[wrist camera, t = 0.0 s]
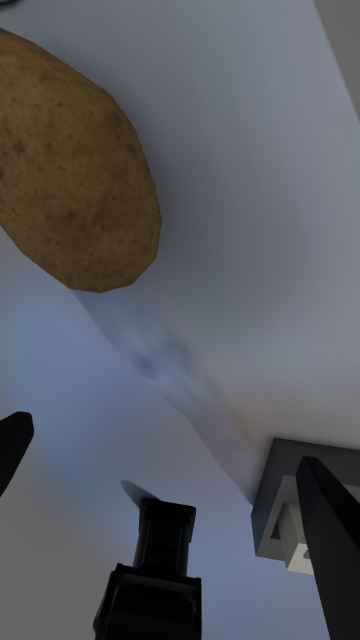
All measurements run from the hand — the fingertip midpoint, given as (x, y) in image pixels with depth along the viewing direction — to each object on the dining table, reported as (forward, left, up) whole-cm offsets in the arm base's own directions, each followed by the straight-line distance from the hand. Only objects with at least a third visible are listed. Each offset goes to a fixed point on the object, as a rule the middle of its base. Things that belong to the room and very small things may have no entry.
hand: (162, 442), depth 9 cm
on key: (-19, -13, -13) cm, 27 cm away
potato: (+8, +8, -15) cm, 19 cm away
